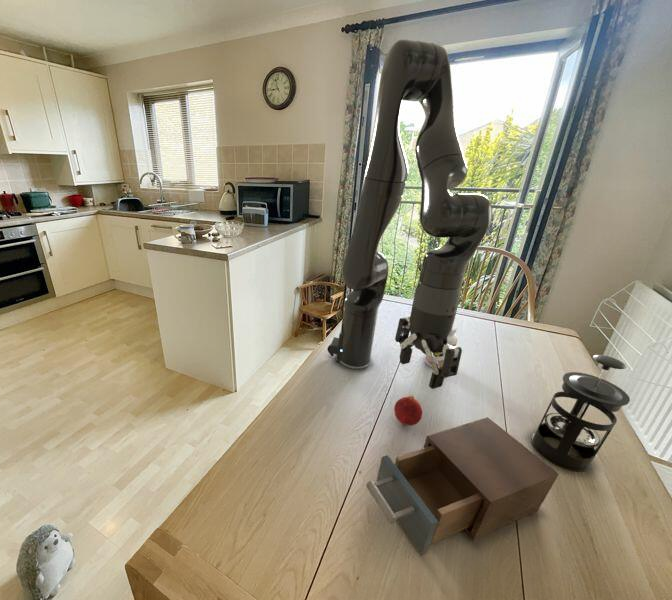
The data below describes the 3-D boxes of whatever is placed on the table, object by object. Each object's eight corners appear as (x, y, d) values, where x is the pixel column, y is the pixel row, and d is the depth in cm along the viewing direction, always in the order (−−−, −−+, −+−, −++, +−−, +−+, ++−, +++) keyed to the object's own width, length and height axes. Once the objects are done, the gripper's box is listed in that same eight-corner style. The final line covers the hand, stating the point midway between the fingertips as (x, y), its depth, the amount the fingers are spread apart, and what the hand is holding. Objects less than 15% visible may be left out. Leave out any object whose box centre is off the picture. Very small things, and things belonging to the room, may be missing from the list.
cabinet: (472, 540, 49) (490, 502, 45) (416, 471, 60) (426, 435, 56) (537, 511, 53) (559, 473, 49) (473, 451, 64) (487, 416, 60)
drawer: (394, 567, 45) (404, 536, 42) (352, 494, 55) (357, 464, 52) (488, 526, 50) (503, 495, 47) (434, 465, 60) (443, 436, 57)
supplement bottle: (424, 367, 90) (434, 329, 85) (423, 355, 96) (433, 318, 90) (450, 373, 88) (462, 333, 82) (448, 360, 93) (459, 322, 88)
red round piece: (421, 435, 68) (429, 407, 65) (393, 431, 69) (400, 403, 66) (415, 415, 73) (422, 389, 70) (390, 412, 74) (395, 385, 71)
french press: (586, 483, 58) (649, 386, 48) (525, 451, 64) (570, 359, 55) (594, 448, 65) (650, 357, 55) (538, 422, 71) (580, 336, 62)
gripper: (393, 293, 64) (382, 359, 70) (449, 325, 51) (429, 401, 58) (422, 288, 66) (409, 353, 72) (483, 318, 53) (460, 392, 60)
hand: (418, 374), depth 65 cm, fingers open, 8 cm apart
